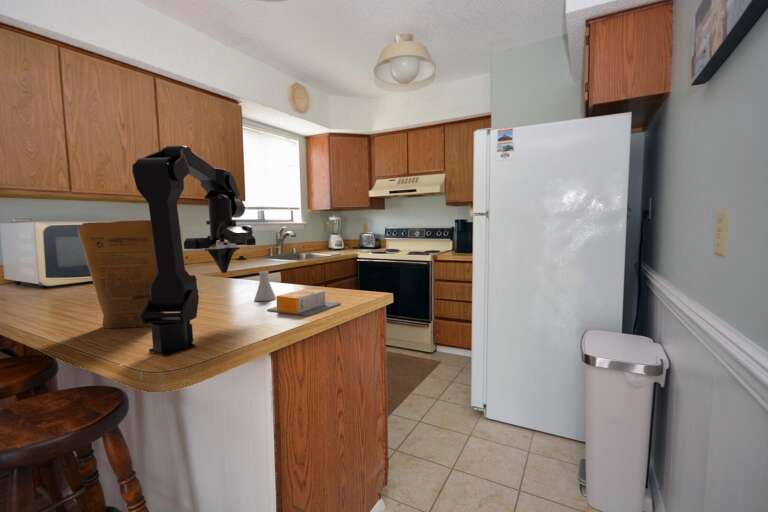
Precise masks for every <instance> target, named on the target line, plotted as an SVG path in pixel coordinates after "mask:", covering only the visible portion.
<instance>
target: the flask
mask: <svg viewBox="0 0 768 512" xmlns="http://www.w3.org/2000/svg"><path fill="white" fill-rule="evenodd" d="M258 274H259V283H258V287H257V291H256V293H255V296H254V301H255V302H269V301H273V300H276V295H275V292H274V290H273V288H272V286H271V283H270V280H269V271H259V272H258Z"/></svg>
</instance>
